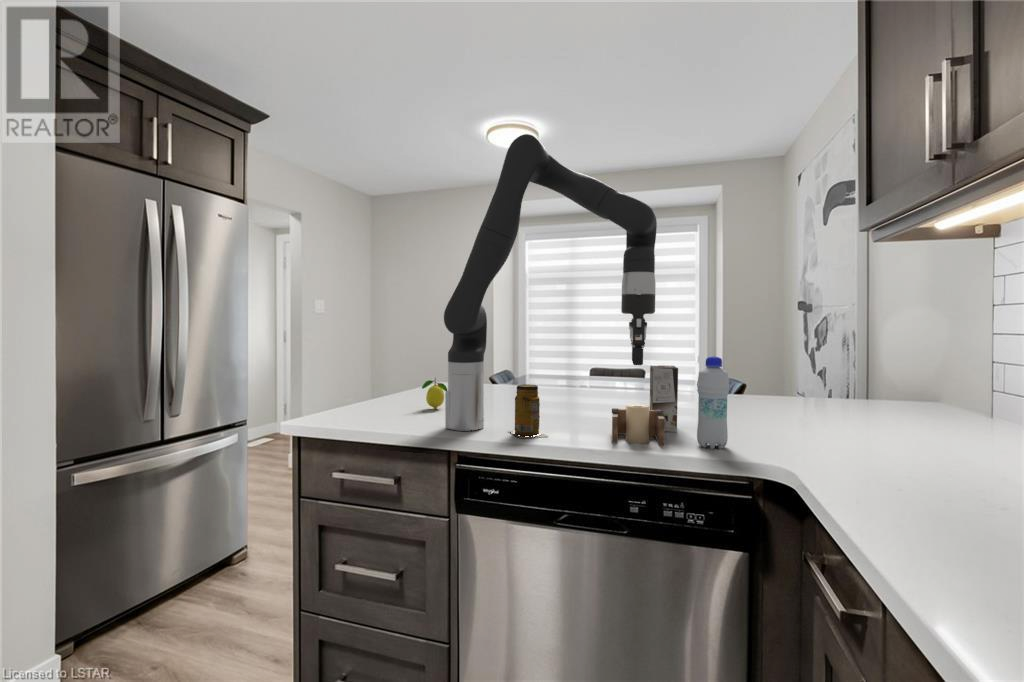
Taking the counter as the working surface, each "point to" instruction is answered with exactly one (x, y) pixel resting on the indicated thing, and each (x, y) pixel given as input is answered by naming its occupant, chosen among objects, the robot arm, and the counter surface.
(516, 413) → the condiment
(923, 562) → the counter surface
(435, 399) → the lemon
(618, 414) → the holder
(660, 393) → the coffee box
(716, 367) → the bottle
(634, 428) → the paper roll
